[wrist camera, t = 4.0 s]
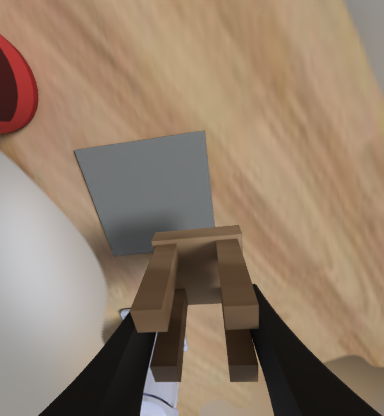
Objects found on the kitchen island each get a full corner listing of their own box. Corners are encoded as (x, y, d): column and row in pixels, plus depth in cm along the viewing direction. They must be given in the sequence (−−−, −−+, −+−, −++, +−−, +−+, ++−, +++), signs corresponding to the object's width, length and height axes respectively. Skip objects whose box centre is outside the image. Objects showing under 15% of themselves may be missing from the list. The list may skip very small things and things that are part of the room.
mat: (216, 243, 21) (216, 245, 21) (115, 254, 22) (113, 256, 22) (204, 130, 17) (204, 130, 16) (76, 149, 17) (74, 150, 17)
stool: (241, 289, 15) (264, 384, 10) (169, 293, 16) (150, 385, 10) (238, 225, 13) (266, 299, 7) (155, 232, 14) (121, 306, 8)
